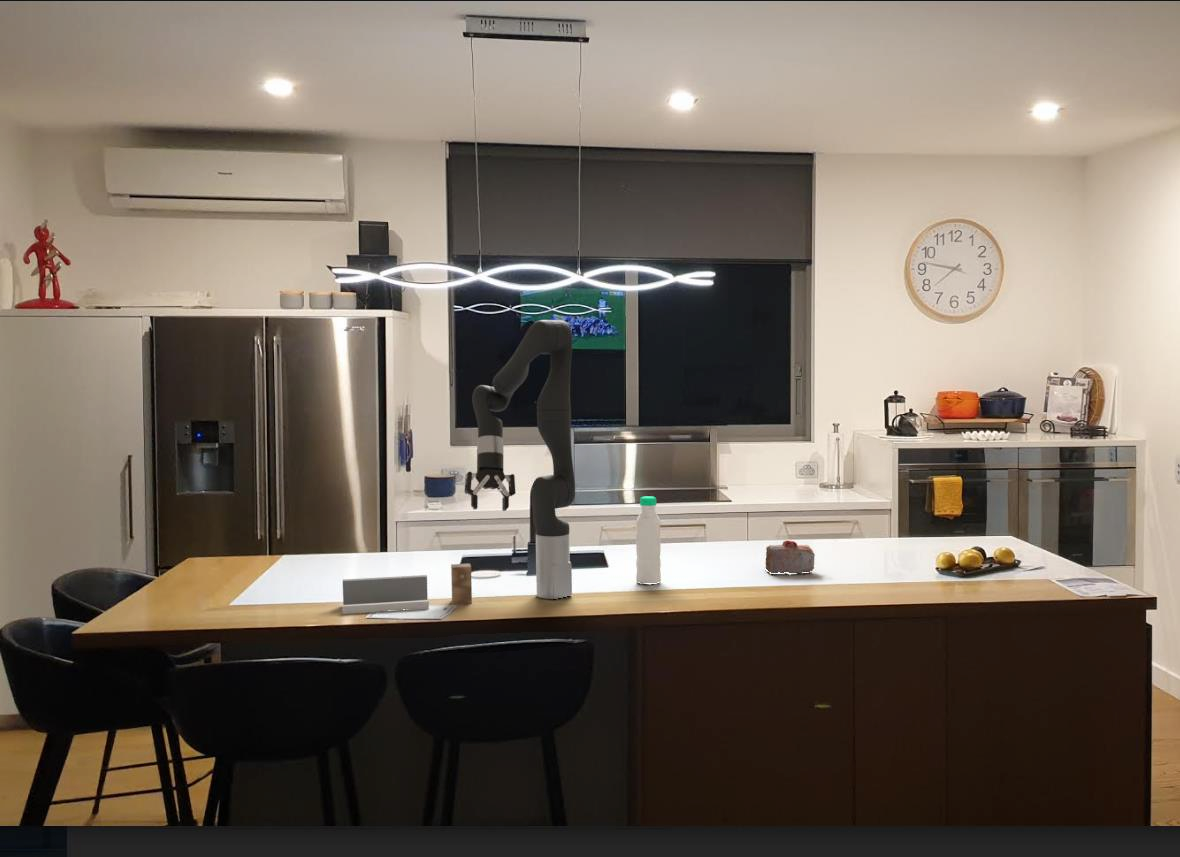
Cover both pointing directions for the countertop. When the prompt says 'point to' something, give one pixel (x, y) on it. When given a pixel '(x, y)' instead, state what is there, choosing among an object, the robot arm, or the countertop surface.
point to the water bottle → (648, 542)
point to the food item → (789, 558)
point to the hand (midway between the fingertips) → (490, 509)
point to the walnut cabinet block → (461, 584)
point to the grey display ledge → (384, 594)
